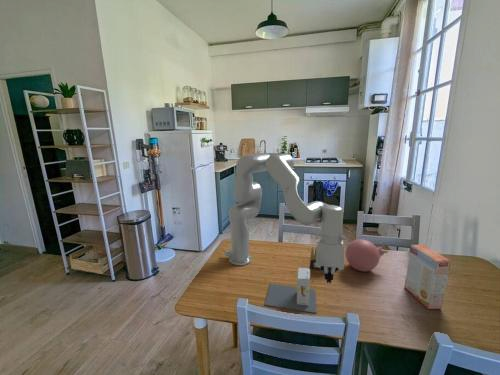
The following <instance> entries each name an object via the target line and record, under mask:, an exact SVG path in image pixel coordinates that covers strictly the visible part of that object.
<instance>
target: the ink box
mask: <svg viewBox="0 0 500 375" xmlns="http://www.w3.org/2000/svg"><path fill="white" fill-rule="evenodd" d="M310 281H311V269H310V267H308V268H307V267H305V268H304V267H298V268H297V282H296V284H297V286H296V287H297V304H299V305H306V306H309V290H310V289H311V288H310V284H311V283H310Z"/></svg>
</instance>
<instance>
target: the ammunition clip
mask: <svg viewBox="0 0 500 375" xmlns="http://www.w3.org/2000/svg"><path fill="white" fill-rule="evenodd" d="M314 249H315V250H314ZM316 251H317V246H315V248H314V246H312V247H311V252H310V261H309V269H310V270H313V271H314V270H316V271H323V270H322V269H321V268H318V267H316V266H315V263H316ZM327 269H328V271H329V270H330V269H331V267H327Z"/></svg>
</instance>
